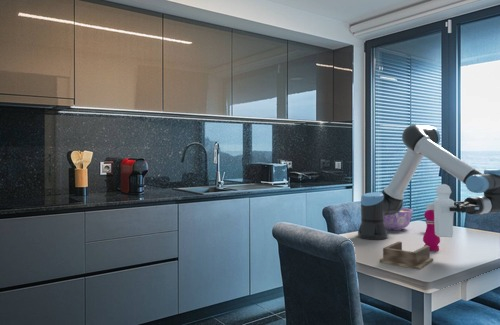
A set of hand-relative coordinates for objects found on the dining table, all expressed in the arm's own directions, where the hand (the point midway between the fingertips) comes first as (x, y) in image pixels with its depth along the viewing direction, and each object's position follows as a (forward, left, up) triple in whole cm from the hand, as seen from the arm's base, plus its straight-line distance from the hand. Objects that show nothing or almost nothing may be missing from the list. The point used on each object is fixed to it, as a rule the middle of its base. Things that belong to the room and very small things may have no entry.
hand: (434, 208), depth 165 cm
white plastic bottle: (+2, +4, -12) cm, 13 cm away
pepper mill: (-7, +17, -22) cm, 28 cm away
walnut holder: (-8, -11, -22) cm, 25 cm away
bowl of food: (-40, +56, -22) cm, 72 cm away
